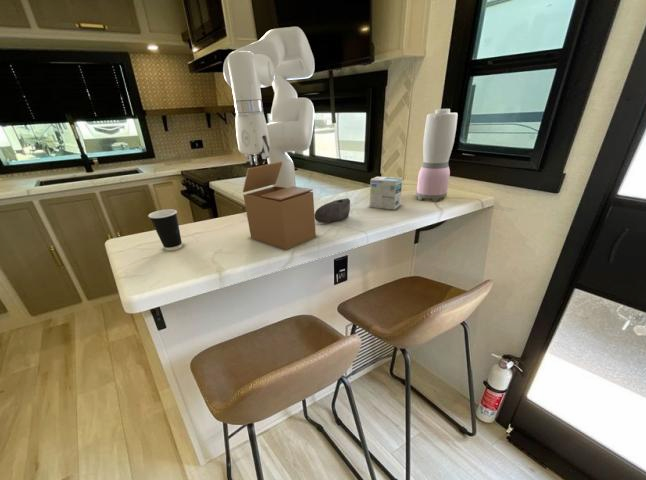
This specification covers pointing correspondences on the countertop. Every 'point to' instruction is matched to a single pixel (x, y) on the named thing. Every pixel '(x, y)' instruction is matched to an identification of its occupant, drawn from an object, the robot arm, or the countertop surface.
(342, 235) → the countertop surface
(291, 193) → the carton
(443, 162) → the blender
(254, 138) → the robot arm
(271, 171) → the flap
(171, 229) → the dixie cup
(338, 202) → the perforated stone tool
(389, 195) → the light bulb box
